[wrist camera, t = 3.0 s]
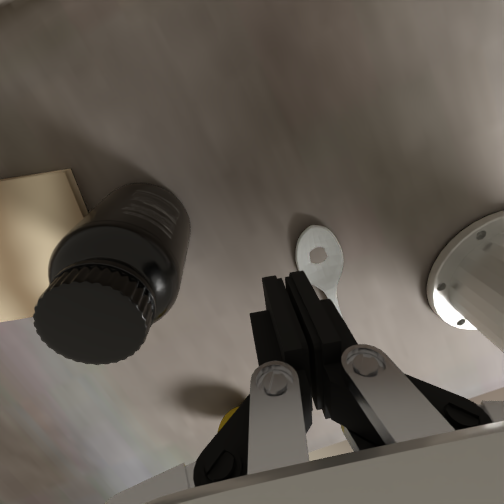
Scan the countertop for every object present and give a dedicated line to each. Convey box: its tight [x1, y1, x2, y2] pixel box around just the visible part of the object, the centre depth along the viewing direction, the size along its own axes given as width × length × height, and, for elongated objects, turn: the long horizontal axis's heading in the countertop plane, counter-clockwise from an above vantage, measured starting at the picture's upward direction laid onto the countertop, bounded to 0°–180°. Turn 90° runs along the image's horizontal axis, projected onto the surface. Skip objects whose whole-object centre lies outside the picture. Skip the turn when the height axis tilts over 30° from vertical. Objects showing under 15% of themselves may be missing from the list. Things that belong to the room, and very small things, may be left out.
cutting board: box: [0, 169, 89, 322], centre depth 24 cm, size 12×11×1 cm
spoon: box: [296, 225, 344, 317], centre depth 30 cm, size 4×21×2 cm, turn 20°
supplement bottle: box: [33, 183, 190, 365], centre depth 19 cm, size 7×7×12 cm
